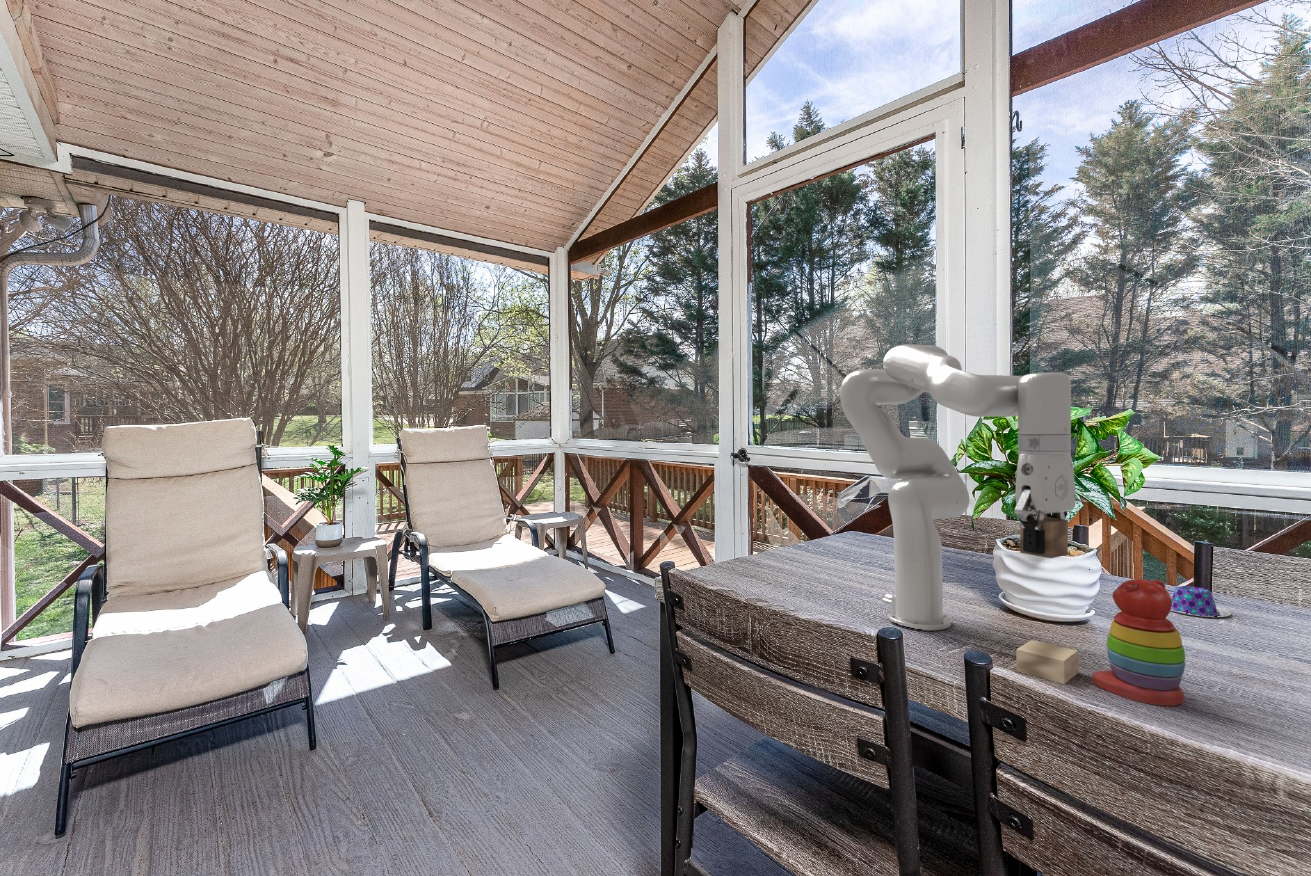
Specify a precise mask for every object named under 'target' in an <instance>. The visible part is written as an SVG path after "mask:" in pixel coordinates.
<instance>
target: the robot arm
mask: <svg viewBox="0 0 1311 876" xmlns="http://www.w3.org/2000/svg"><path fill="white" fill-rule="evenodd" d="M882 366H883V369H876V368H875V369H872V368H871V369H859V370H856V371H852V372H851V373H849V374H847V376H845V378H843V381H842V383H841V386H840V391H839V394H840V395H839V399H840V405H841V409H842V411H843V414H844V415H845V417H846V418H847V420H848V422H849V423H850V424H851V427H852V428H853V429H854V430H855V432H856V433H857V435H858V436H859V438H860V440H861V442H862V444H863V446H864V447H865V450H866V451H867V453H868V455H869V457H870V458H871V461H872V463H873V464H874V466H875V467H876V470H877V471H878V473H879V474H880V475H881V476H882V477H883V478H885V479H889V480H898V481H895V483H893V484H892V486H891V487H890V488H889V492H888V496H887V501H888V502H887V503H888V508H889V513H890V517H891V522H892V528H893V529H892V530H893V552H894V553H893V554H894V556H893V559H894V594H891V593H886V594H885V596H884V597H883V598H882V604H885V605H888V606H890V607H891V608H890V609H891V610H890V611H888V614H887V619H888V618H889V619H888V620H889V621H890V622H891V621H893V622H895V623H900V624H902V625H905V626H906V627H911V628H917V629H922V630H921V631H942V630H946V629H948V628H950V627H951V626H952V619H951V617H950V616H948V615H946V614H944V598H943V597H944V596H943V595H944V593H943V550H942V549H943V547H942V539H941V536H940V533H939V531H938V529H937V527H936V526H935V523H934V521H936V520H944V519H946V520H947V519H953V518H954V519H955V518H958V517H960V516H962V515H964V513H965V512H966V511H967V510H968V508H969V505H970V493H969V491H968V487H967V486H966V484H965V481H963V479H962V477H961V475H960V474H959V472H958V471H957V469H956V467H955V466H954V465H953V463H952V462H951V460H950V457H948V454H947V453H946V452H945V451H944V449H943V448H942V447H941V445H940V444H938V443H937V442H936V441H934V440H932V439H929V438H926V437H908V436H905V434H903V433H902V432H901V430H900V429H899V428H898V426H897V424H896V422H895V421H894V419H893V418H892V416H890V415H889V414H888V413H886V412H885V411H884V410H882V409H881V408H880V407H879V406H877V405H880V406H881V405H883V406H884V405H889V406H890V405H894V406H895V405H896V406H897V405H902V404H906V403H909V402H911V401H913V400H914V399H916V398H918V397H919V396H921V395H922V394H924V393H928V394H930V396H931V397H932V398H933V400H934V401H935V403H937V404H939V405H940V406H943V407H944V408H947V409H950V410H953V411H954V412H958V413H960V414H963V415H967V416H970V417H976V418H977V417H978V418H979V417H981V418H983V417H986V418H987V417H1000V418H1001V417H1003V418H1004V417H1006V418H1007V417H1008V418H1009V417H1017V454H1018V459H1017V466H1016V474H1015V475H1016V476H1015V505H1016V506H1015V508H1014V514H1015V515H1016V516H1017V517H1018V518H1019V522H1020V521H1021V527H1022V528H1023V550H1024V551H1025V552H1030V553H1036V554H1044V552H1045V531H1043V530H1041V529H1042V525H1043V519H1044V517H1050V518H1057V519H1065V520H1066V517H1068V513H1069V511H1071V510H1073V509H1075V507H1076V481H1075V472H1074V462H1073V458H1072V455H1071V453H1072V451H1071V450H1072V439H1071V438H1072V435H1071V434H1072V433H1071V432H1072V431H1071V430H1072V428H1071V427H1072V421H1071V419H1072V408H1071V407H1072V384H1071V383H1072V381H1071V377H1070V376H1069V375H1068V374H1066V373H1063V372H1059V371H1056V372H1051V371H1050V372H1034V373H1028V374H1024V375H1002V374H999V375H997V374H994V375H993V374H975V373H972V372H968V371H965V370H963V369H962V368H963V367H962V365H961V362H960V361H959V360H958V359H957V358H956V357H954V356H952V355H949V354H948V352H947V351H946V350H945V349H943V348H942V347H940V346H937V345H929V344H913V343H911V344H907V343H906V344H900V345H897V346H894V347H892V348H890V349H889V350H888V351H887V353H886V354H885V355H884V356H883V361H882ZM1033 516H1036V520H1035V519H1034V517H1033ZM906 627H905V628H906ZM911 628H910V629H911ZM917 629H916V630H917Z"/></svg>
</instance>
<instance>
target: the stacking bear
mask: <svg viewBox="0 0 1311 876" xmlns="http://www.w3.org/2000/svg"><path fill="white" fill-rule="evenodd" d="M1112 599H1113V602H1114V604H1115V605H1116V607H1117V608H1118V609H1119V610H1120V611H1119V612H1117V613H1116V614H1115V615H1114V617H1113V620H1112V622H1111V625H1110V628H1109V633H1108V635H1107V638H1106V651H1107V657H1108V659H1109V665H1110V669H1111V670H1100V671H1095V672H1094V673H1093V674H1092V676H1091V682H1092V683H1093V684H1095V685H1096V686H1097V687H1099V688H1101V689H1104V691H1105V690H1106V691H1107V692H1110V693H1113V694H1115V695H1117V696H1121V697H1123V698H1126V699H1129V700H1133V701H1137V702H1140V703H1143V704H1149V705H1156V706H1170V707H1171V706H1179V705H1182V704H1183V703H1184V702H1185V695H1184V692H1183V690H1182V688H1181V686H1180V684H1181V682H1182V679H1183V674H1184V673H1185V668H1186V661H1185V660H1186V654H1185V648H1184V645H1183V640H1182V637H1181V634H1180V631H1179V630H1178V628H1176V627H1175V625H1174V623H1173V622H1172V621H1170V619H1168V618H1167V617H1168V616H1169V614H1170V612H1171V610H1172V609H1171V607H1172V596H1171V595H1170V593H1169V591H1168V590H1167V589H1166V584H1165V583H1164V582H1163V581H1162V580H1160V579H1154V580H1153V581H1151V580H1148V579H1140V578H1139V579H1138V578H1135V579H1134V578H1133V579H1130V580H1126V581H1124V582H1122V583H1121V584H1120V585H1119V586H1118V587H1117V588H1116V589H1115V590H1113V592H1112Z"/></svg>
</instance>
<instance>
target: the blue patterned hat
mask: <svg viewBox="0 0 1311 876" xmlns="http://www.w3.org/2000/svg"><path fill="white" fill-rule="evenodd" d="M1171 599H1172V608H1171V610H1170V612H1175V613H1178V614H1183V615H1187V616H1188V615H1189V616H1196V617H1202V618H1203V617H1205V618H1215V617H1214V616H1208V615H1217V617H1216V618H1223V617H1228V616H1229V617H1230V616H1231V614H1232V613H1231V612H1230V611H1228V610H1226V609H1225V608H1222V607H1218V606H1217V605H1216V603H1215V600H1214V596H1213V593H1212V591H1211V590H1209V589H1206V588H1203V587H1199V586H1192V585H1191V586H1189V585H1188V586H1187V585H1180V586H1179V585H1178V586H1176V587H1175V588H1174V591H1173V594H1172V596H1171ZM1172 609H1173V610H1175V611H1173V610H1172ZM1217 609H1219V611H1223V612H1225V613H1224V614H1225V615H1221V616H1218V614H1219V613H1218V611H1217ZM1179 611H1182V612H1186V613H1190V614H1186V613H1182V612H1179ZM1217 613H1218V614H1217ZM1193 614H1198V615H1193ZM1200 615H1202V616H1200Z"/></svg>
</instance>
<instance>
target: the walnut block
mask: <svg viewBox="0 0 1311 876" xmlns="http://www.w3.org/2000/svg"><path fill="white" fill-rule="evenodd" d="M1032 516H1033V517H1034V519H1035V520H1036V516H1037V515H1032ZM1068 520H1069V519H1066V518H1065V519H1057V518H1050V517H1044V519H1043V525H1042V529H1041V530H1043V531H1045V552H1044V554H1036V553H1030V552H1025V551H1024V550H1023V528H1022V527H1021V521H1020V520H1019V553H1021V554H1025V555H1031V556H1036V557H1041V558H1047V559H1054V558H1059V557H1065V556H1068V555H1069V553H1068V549H1069V546H1068V544H1069V543H1068V540H1069V539H1068V538H1069V536H1068V535H1069V529H1068V528H1069V521H1068Z"/></svg>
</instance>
